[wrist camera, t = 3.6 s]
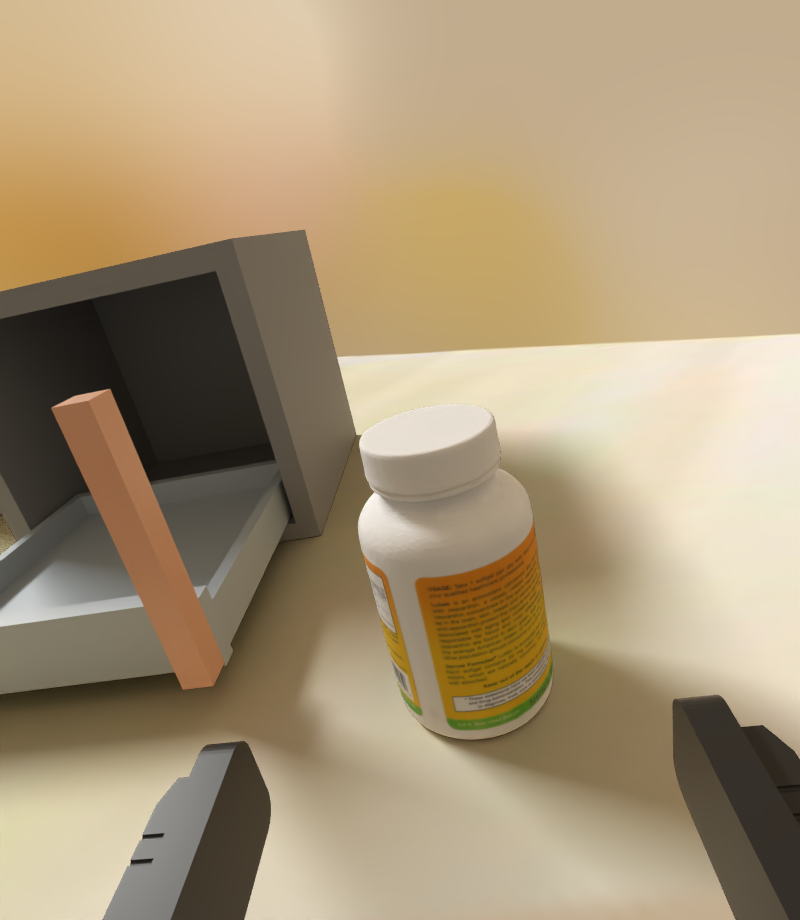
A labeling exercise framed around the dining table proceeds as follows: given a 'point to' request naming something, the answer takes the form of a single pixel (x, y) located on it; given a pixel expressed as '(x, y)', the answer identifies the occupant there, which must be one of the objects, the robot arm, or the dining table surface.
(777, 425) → the dining table surface
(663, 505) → the dining table surface
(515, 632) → the supplement bottle
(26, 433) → the cabinet
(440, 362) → the dining table surface
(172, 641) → the drawer
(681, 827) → the dining table surface
